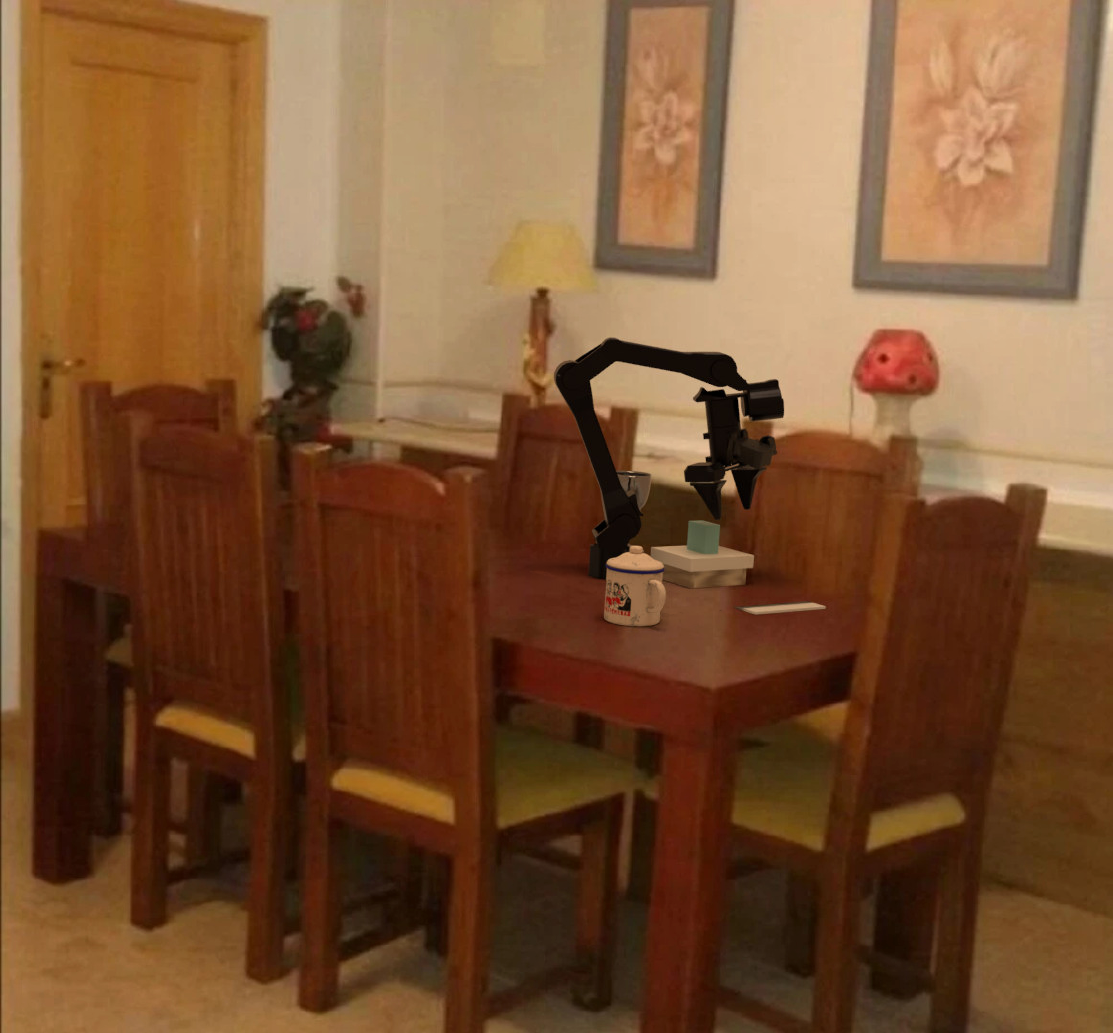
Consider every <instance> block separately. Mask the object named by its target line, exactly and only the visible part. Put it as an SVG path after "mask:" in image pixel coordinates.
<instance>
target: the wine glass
mask: <svg viewBox="0 0 1113 1033" xmlns="http://www.w3.org/2000/svg"><path fill="white" fill-rule="evenodd" d="M616 472H617V475H618V477H619V480H620V483H621V485H622V487H623V489H624V490H625V492H628V491H629V490H631V489H632V490H633V491H634V493H635V494H636V498H637V504H638V508H639V509H640V510H641V509H642V508H643V507H644V506H645V504H646V503H647V501H648V498H649V495H650V490H651V483H652V474H651V473H649V472H644V471H635V470H616ZM627 546H630V547H631V546H632V545H631V544H630V542H629V543H628V545H627ZM629 552H630V550H629ZM642 553H645V550H644V549H643V552H642Z"/></svg>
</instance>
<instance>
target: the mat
mask: <svg viewBox="0 0 1113 1033" xmlns="http://www.w3.org/2000/svg"><path fill="white" fill-rule="evenodd" d="M732 608H734V609H736V610H740V611H743V612H746V613H749V614H753V615H767V614H778V613H780V614H781V613H789V612H790V613H792V612H801V611H802V612H803V611H804V612H805V611H813V610H815V611H816V610H826V606H825V605H822V604H819V603H815V602H812V601H808V600H807V601H794V602H793V601H792V602H782V603H781V602H780V603H769V604H757V605H756V604H755V605H753V604H752V605H744V606H742V605H741V606H732Z"/></svg>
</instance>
